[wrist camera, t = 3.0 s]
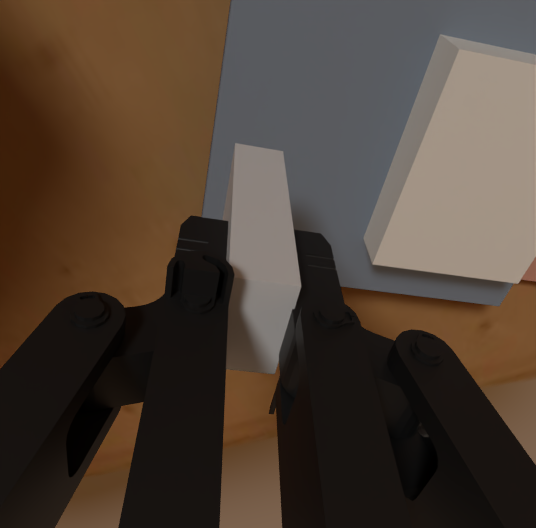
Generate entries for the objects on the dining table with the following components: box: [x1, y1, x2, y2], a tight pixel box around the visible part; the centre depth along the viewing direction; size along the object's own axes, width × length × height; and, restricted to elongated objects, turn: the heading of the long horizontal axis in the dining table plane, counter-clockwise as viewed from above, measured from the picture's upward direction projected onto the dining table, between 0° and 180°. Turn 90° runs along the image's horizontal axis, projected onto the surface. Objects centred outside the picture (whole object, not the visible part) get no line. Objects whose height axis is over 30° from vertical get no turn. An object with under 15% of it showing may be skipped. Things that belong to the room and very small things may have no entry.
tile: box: [363, 34, 536, 284], centre depth 20 cm, size 7×9×2 cm
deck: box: [202, 0, 536, 306], centre depth 22 cm, size 16×15×3 cm
